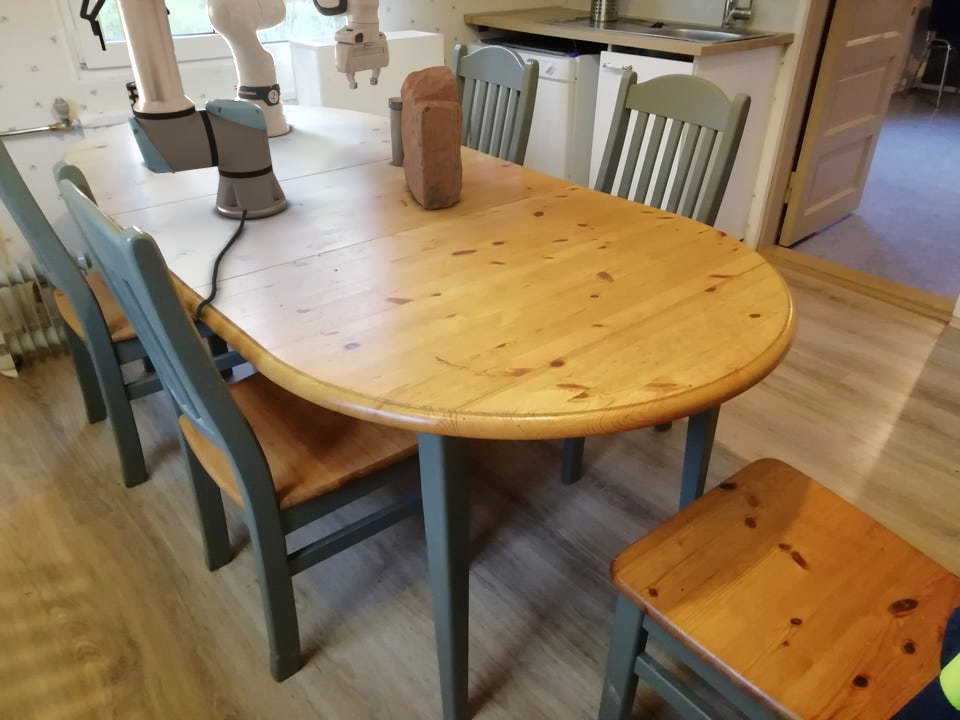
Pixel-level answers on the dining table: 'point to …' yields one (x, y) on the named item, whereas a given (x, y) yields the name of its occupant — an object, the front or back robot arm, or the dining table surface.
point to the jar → (396, 137)
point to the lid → (395, 103)
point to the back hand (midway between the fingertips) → (363, 86)
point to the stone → (432, 136)
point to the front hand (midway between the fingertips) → (133, 48)
